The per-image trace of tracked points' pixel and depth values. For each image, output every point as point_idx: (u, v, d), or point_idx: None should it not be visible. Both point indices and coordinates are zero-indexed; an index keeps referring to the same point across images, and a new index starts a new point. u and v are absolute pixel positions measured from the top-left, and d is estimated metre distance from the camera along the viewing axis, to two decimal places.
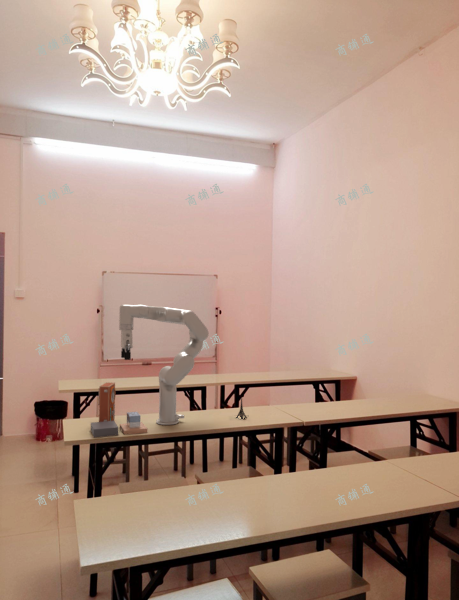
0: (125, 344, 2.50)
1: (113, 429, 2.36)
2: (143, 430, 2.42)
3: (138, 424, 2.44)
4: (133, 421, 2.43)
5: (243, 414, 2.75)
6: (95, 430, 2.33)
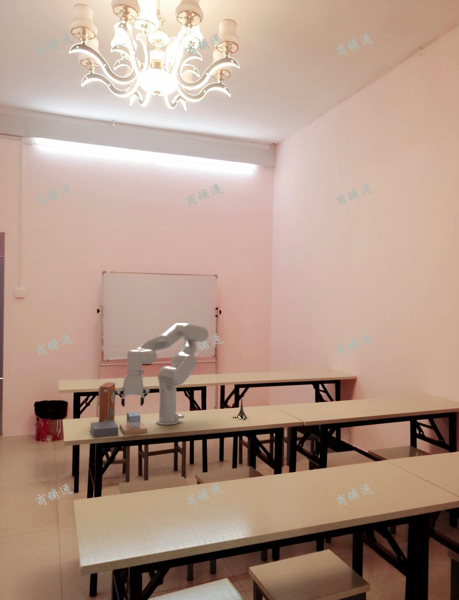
0: None
1: (113, 429, 2.36)
2: (143, 430, 2.42)
3: (138, 424, 2.44)
4: (133, 421, 2.43)
5: (243, 414, 2.75)
6: (95, 430, 2.33)
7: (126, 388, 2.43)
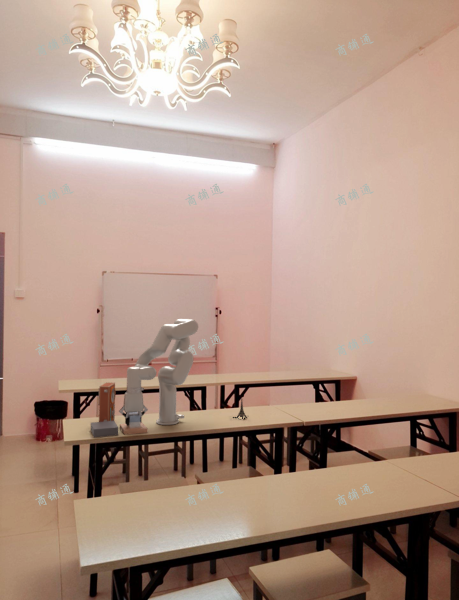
0: (142, 409, 2.48)
1: (113, 429, 2.36)
2: (143, 430, 2.42)
3: (138, 424, 2.44)
4: (133, 421, 2.43)
5: (243, 414, 2.75)
6: (95, 430, 2.33)
7: (126, 406, 2.44)
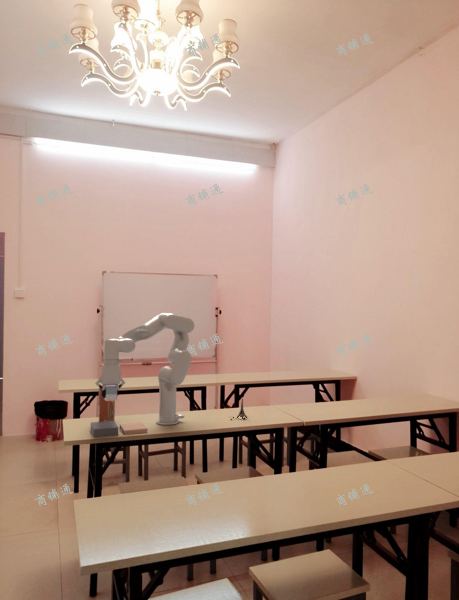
0: None
1: (113, 429, 2.36)
2: (143, 430, 2.42)
3: (114, 396, 2.39)
4: (109, 393, 2.38)
5: (244, 414, 2.75)
6: (95, 430, 2.33)
7: (103, 377, 2.39)
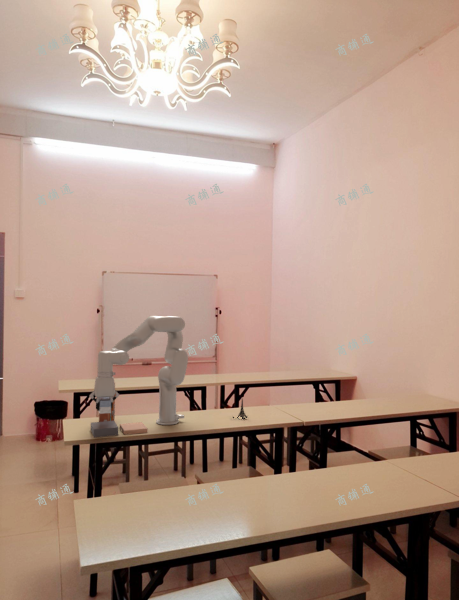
0: None
1: (113, 429, 2.36)
2: (143, 430, 2.42)
3: (108, 409, 2.38)
4: (103, 406, 2.37)
5: (244, 414, 2.75)
6: (95, 430, 2.33)
7: (97, 390, 2.38)
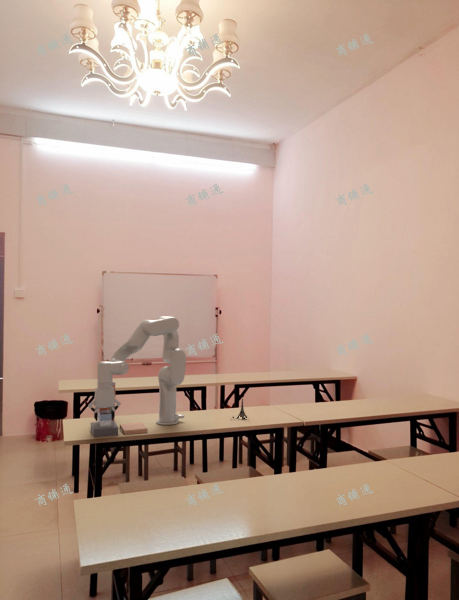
0: (114, 403, 2.42)
1: (113, 429, 2.36)
2: (143, 430, 2.42)
3: (109, 422, 2.38)
4: (104, 420, 2.37)
5: (244, 414, 2.75)
6: (95, 430, 2.33)
7: (97, 401, 2.38)
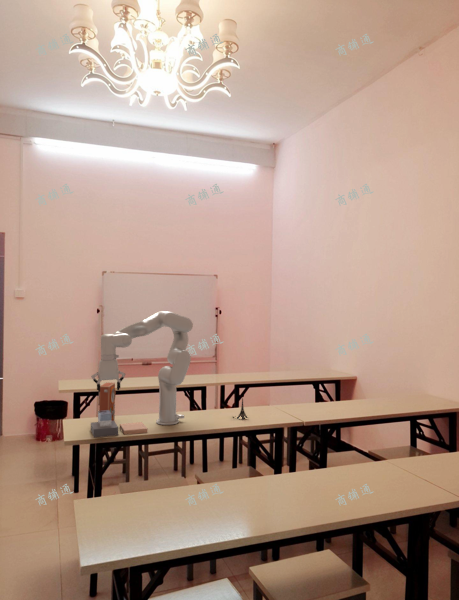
0: (118, 374, 2.44)
1: (113, 429, 2.36)
2: (143, 430, 2.42)
3: (109, 422, 2.38)
4: (104, 420, 2.37)
5: (244, 414, 2.74)
6: (95, 430, 2.33)
7: (101, 373, 2.39)
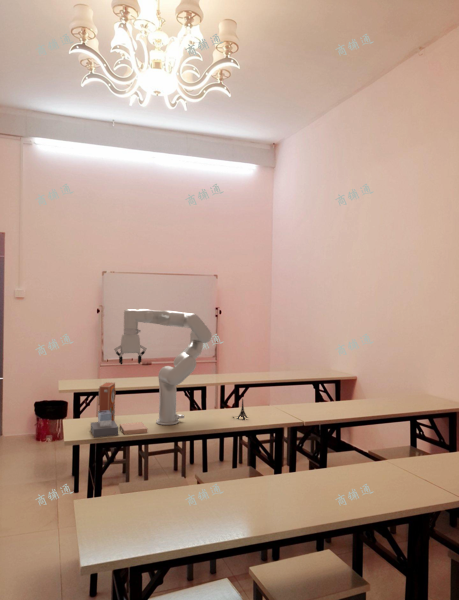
0: None
1: (113, 429, 2.36)
2: (143, 430, 2.42)
3: (109, 422, 2.38)
4: (104, 420, 2.37)
5: (244, 415, 2.74)
6: (95, 430, 2.33)
7: (123, 346, 2.49)
